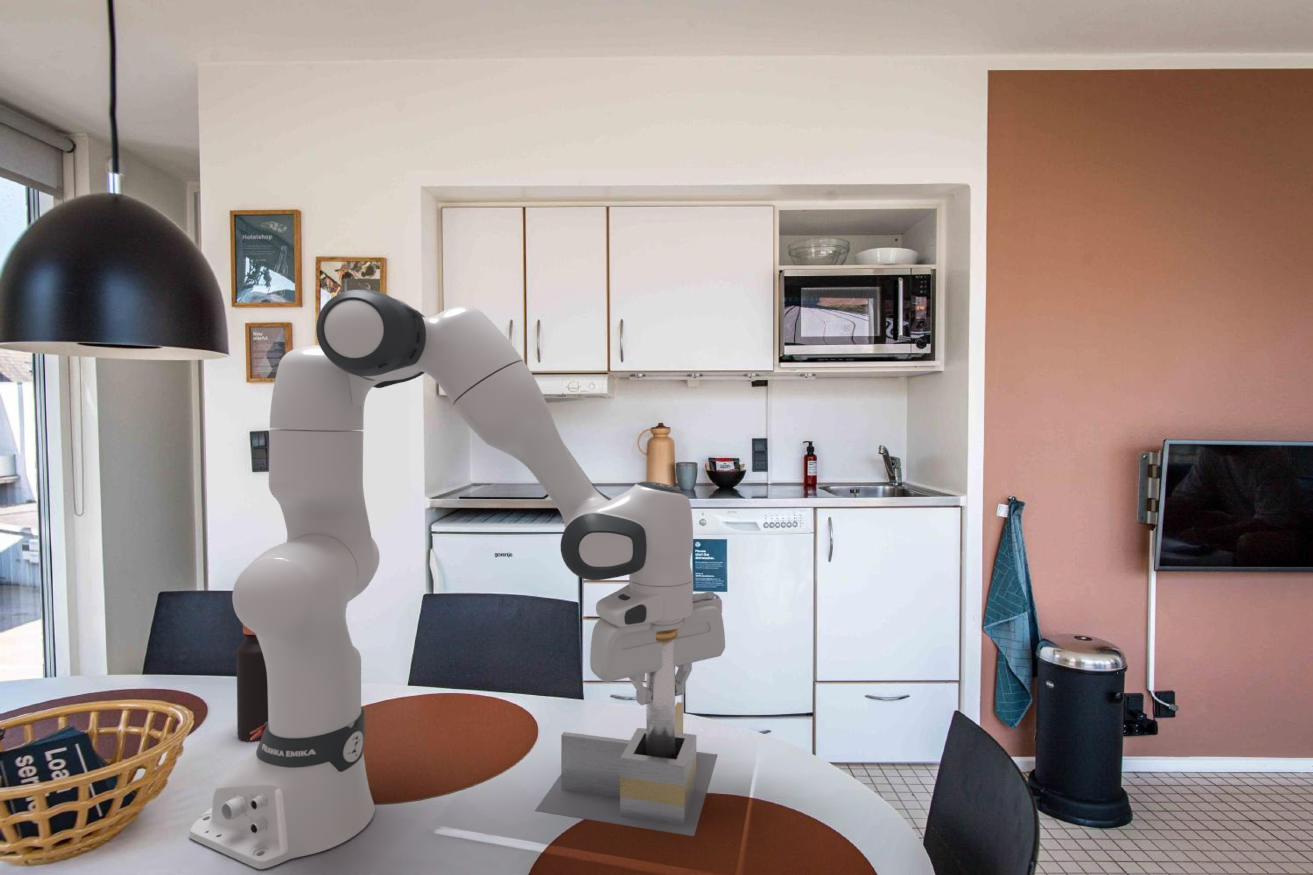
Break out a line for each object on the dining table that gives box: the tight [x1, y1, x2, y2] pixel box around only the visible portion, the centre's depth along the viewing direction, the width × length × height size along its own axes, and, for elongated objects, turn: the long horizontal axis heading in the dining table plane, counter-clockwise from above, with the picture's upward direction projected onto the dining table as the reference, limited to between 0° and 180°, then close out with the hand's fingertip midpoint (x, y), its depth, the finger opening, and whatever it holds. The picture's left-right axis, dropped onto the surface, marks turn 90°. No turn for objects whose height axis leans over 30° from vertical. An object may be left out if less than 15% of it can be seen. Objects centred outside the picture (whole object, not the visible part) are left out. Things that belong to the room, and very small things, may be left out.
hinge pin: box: [645, 629, 677, 759], centre depth 90 cm, size 5×5×19 cm
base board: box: [534, 751, 718, 837], centre depth 96 cm, size 22×21×1 cm
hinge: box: [560, 701, 697, 826], centre depth 96 cm, size 19×19×8 cm
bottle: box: [236, 623, 268, 742], centre depth 112 cm, size 7×7×20 cm
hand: (660, 698), depth 90 cm, fingers closed on hinge pin, 4 cm apart
